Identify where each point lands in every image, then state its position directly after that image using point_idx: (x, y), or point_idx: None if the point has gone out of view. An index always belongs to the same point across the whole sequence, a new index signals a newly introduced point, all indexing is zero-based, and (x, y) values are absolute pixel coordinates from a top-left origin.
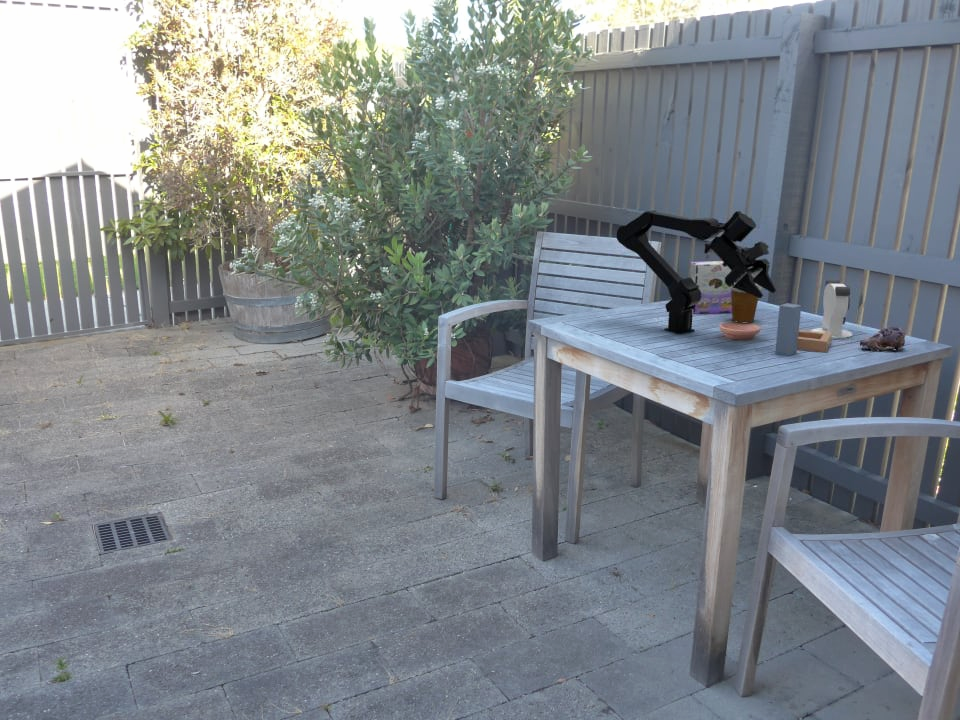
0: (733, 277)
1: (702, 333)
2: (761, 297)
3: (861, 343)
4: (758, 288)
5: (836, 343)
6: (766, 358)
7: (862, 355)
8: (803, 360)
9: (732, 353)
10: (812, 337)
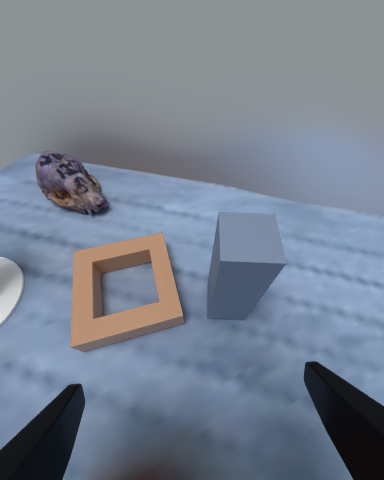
0: None
1: None
2: (305, 374)
3: (101, 206)
4: (355, 408)
5: None
6: (304, 311)
7: (143, 202)
8: None
9: None
10: (97, 288)
